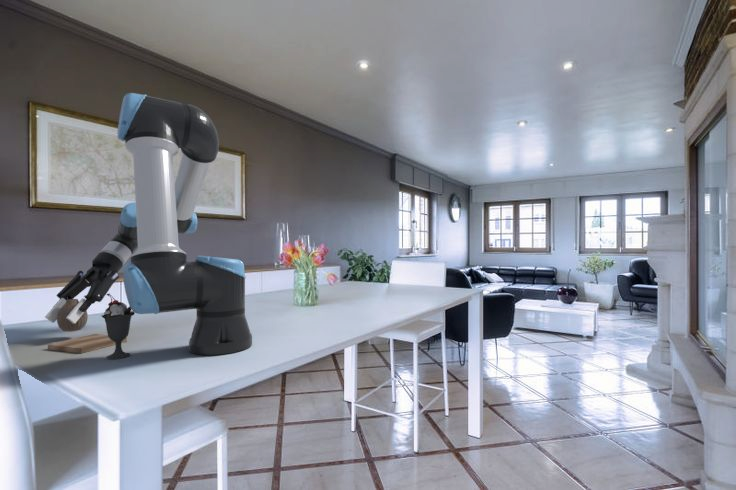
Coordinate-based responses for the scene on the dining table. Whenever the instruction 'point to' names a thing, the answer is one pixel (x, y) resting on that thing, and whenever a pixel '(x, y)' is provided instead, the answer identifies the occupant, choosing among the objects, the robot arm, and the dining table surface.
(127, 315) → the sundae
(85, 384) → the dining table surface
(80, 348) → the walnut board
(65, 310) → the vase
